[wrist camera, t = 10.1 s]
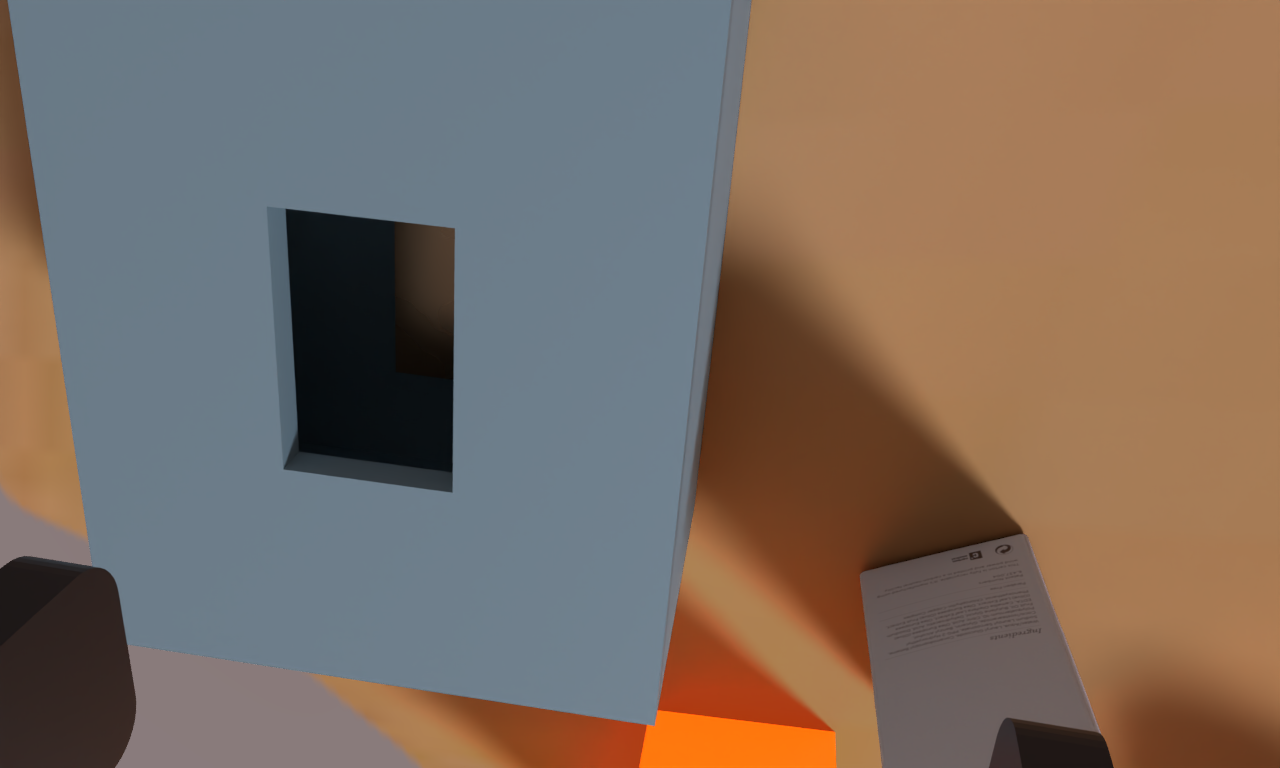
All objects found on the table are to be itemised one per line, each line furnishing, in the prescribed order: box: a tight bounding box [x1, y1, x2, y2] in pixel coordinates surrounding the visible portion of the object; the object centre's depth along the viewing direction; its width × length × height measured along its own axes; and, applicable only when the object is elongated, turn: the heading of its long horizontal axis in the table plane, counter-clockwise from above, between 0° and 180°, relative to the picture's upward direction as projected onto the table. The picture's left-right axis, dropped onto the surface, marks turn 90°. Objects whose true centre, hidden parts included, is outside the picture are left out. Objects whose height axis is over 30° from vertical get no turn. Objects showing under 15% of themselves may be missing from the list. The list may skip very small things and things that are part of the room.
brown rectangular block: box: [394, 221, 455, 380], centre depth 35 cm, size 3×5×5 cm, turn 175°
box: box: [8, 0, 751, 726], centre depth 33 cm, size 16×20×12 cm
